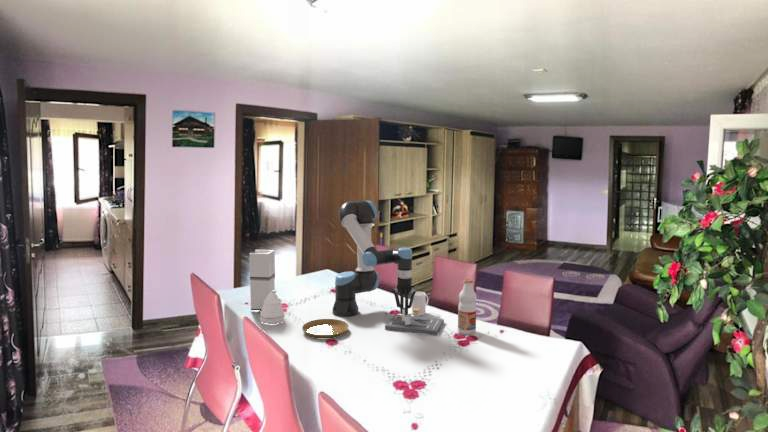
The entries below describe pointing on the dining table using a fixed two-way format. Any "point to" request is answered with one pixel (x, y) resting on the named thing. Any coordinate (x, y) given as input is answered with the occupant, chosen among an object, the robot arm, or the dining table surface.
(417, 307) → the mug
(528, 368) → the dining table surface
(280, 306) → the honey pot
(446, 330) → the dining table surface
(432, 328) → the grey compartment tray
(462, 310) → the fruit juice
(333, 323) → the plant saucer
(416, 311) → the fader
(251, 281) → the tall grey box
